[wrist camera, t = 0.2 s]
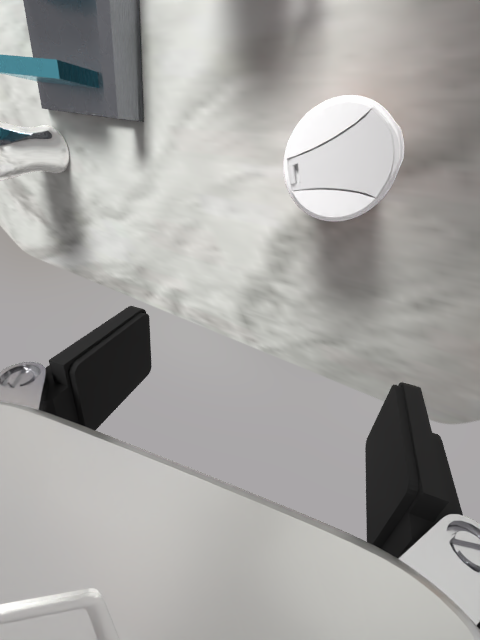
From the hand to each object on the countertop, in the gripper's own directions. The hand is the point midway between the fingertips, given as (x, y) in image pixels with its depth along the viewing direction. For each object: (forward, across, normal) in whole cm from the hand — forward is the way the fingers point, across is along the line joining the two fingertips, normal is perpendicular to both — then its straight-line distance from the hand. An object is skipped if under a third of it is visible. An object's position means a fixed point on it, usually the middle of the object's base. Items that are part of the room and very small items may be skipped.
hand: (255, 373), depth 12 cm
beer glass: (+31, +41, -3) cm, 51 cm away
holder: (+31, +33, -16) cm, 48 cm away
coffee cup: (+31, 0, -7) cm, 32 cm away
